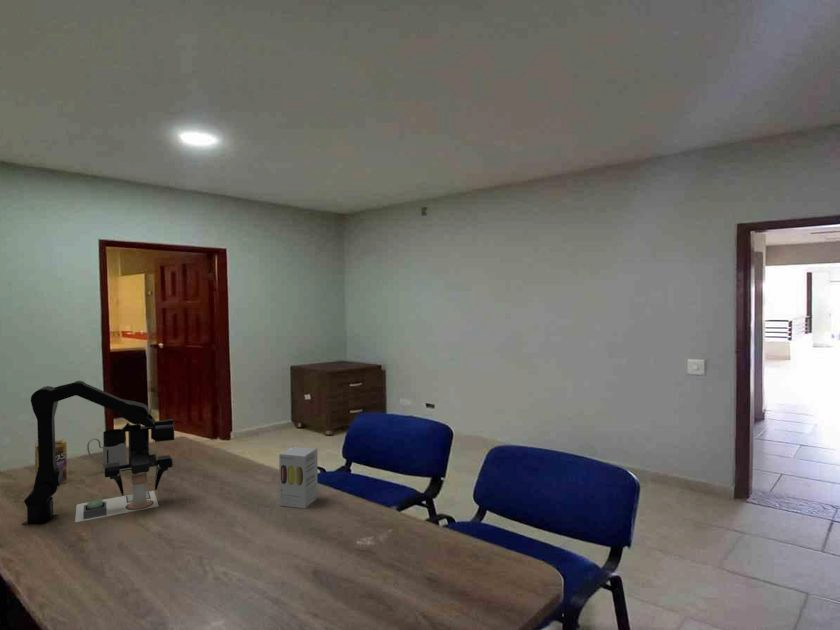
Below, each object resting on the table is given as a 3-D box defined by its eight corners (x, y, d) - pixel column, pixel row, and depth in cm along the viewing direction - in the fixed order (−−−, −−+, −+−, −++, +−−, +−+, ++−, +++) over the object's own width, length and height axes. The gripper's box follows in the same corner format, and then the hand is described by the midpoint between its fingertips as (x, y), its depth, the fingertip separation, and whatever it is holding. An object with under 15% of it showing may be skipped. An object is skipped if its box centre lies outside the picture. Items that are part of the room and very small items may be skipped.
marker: (143, 506, 160) (142, 476, 160) (129, 506, 160) (129, 476, 160) (149, 501, 164) (149, 472, 164) (136, 501, 164) (135, 472, 164)
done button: (87, 511, 153) (87, 506, 153) (87, 506, 156) (87, 501, 156) (102, 508, 155) (102, 503, 155) (102, 503, 158) (102, 499, 158)
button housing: (83, 519, 151) (83, 511, 151) (84, 512, 156) (83, 505, 156) (106, 515, 154) (106, 507, 154) (106, 508, 159) (106, 501, 159)
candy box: (36, 489, 178) (35, 445, 177) (34, 486, 181) (34, 443, 181) (67, 483, 184) (66, 441, 184) (65, 480, 187) (64, 438, 187)
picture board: (74, 524, 149) (74, 521, 149) (76, 506, 163) (76, 503, 163) (158, 507, 161) (158, 505, 161) (153, 492, 175) (153, 490, 175)
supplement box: (278, 506, 162) (277, 453, 162) (292, 495, 171) (291, 445, 171) (305, 509, 160) (305, 455, 159) (318, 498, 169) (318, 447, 168)
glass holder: (132, 468, 201) (132, 430, 200) (93, 478, 189) (93, 438, 188) (120, 464, 205) (120, 427, 205) (82, 474, 193) (81, 435, 193)
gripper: (104, 454, 150) (105, 507, 150) (174, 445, 160) (175, 494, 160) (104, 445, 159) (104, 495, 160) (170, 437, 169) (170, 484, 170)
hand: (139, 492), depth 162 cm, fingers open, 9 cm apart
